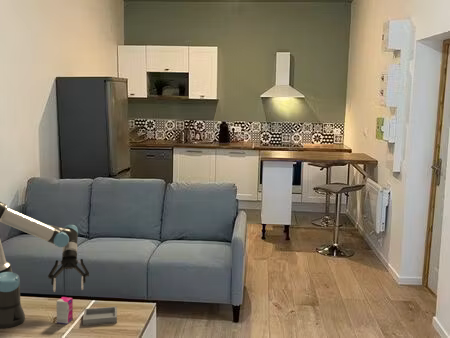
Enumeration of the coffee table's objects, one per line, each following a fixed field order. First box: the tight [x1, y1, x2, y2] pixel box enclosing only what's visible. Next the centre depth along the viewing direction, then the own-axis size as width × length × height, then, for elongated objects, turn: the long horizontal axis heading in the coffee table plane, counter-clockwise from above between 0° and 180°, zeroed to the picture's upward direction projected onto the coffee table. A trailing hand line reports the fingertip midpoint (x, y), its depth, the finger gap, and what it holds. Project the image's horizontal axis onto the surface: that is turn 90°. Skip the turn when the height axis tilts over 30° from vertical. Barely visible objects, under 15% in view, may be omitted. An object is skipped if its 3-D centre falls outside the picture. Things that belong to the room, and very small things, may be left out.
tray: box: [82, 305, 118, 327], centre depth 241 cm, size 16×13×3 cm
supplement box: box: [56, 296, 74, 325], centre depth 237 cm, size 6×6×12 cm
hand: (68, 289), depth 245 cm, fingers open, 13 cm apart
